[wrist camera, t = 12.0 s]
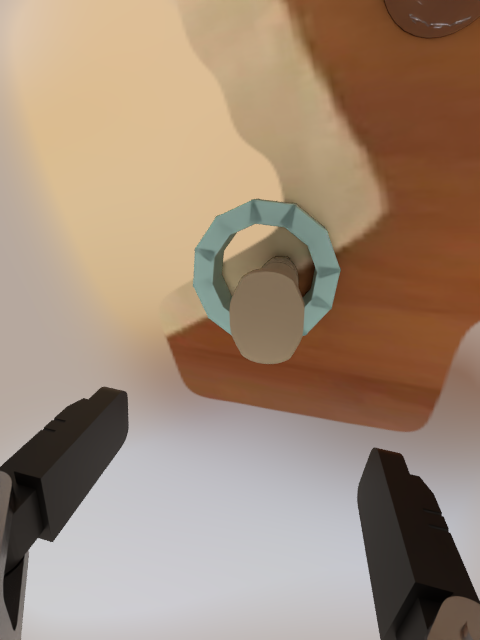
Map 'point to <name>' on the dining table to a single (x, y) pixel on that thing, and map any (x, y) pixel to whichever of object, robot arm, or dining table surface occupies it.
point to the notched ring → (273, 214)
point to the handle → (268, 312)
